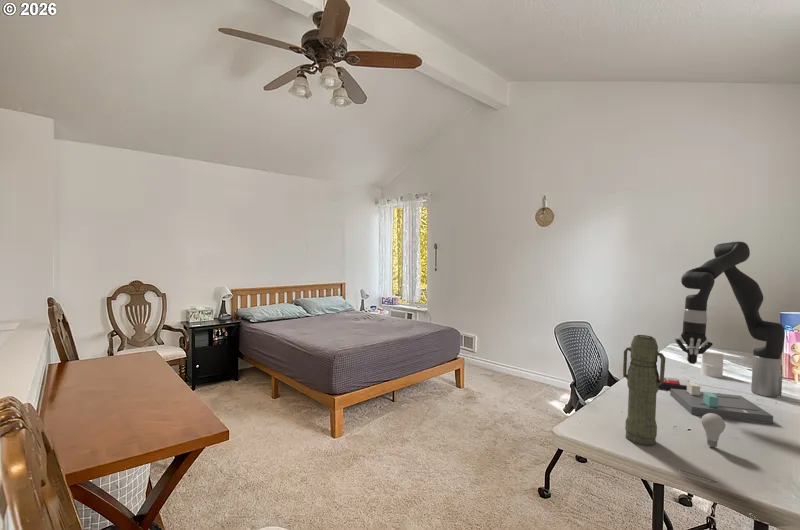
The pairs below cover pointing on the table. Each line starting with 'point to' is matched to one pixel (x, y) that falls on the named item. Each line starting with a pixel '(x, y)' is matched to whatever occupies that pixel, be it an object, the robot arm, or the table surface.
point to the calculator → (673, 384)
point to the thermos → (642, 389)
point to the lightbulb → (713, 428)
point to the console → (722, 406)
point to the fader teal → (710, 399)
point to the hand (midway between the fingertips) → (691, 363)
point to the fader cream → (693, 388)
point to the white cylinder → (712, 364)
